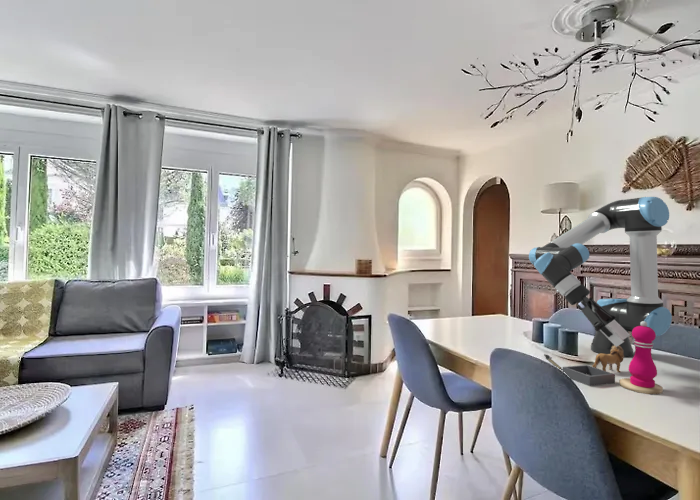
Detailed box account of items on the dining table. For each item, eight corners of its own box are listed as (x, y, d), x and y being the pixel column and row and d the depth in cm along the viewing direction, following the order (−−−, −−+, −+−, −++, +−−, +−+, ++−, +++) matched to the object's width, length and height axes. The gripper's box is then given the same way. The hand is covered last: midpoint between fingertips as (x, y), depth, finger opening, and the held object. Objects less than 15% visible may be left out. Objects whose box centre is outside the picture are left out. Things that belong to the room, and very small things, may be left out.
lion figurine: (612, 367, 146) (612, 343, 146) (627, 371, 141) (628, 346, 141) (587, 372, 139) (588, 346, 139) (603, 376, 134) (603, 350, 134)
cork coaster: (636, 380, 131) (636, 377, 131) (671, 392, 120) (671, 388, 120) (611, 383, 127) (611, 379, 127) (645, 395, 117) (645, 391, 117)
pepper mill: (624, 383, 124) (625, 320, 124) (633, 378, 128) (634, 318, 128) (651, 390, 118) (653, 324, 118) (660, 385, 122) (662, 321, 122)
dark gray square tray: (586, 373, 138) (586, 364, 138) (614, 383, 128) (615, 374, 128) (562, 375, 135) (562, 366, 135) (589, 386, 124) (589, 376, 124)
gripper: (572, 294, 148) (619, 341, 138) (554, 300, 129) (606, 354, 119) (589, 281, 144) (638, 328, 134) (572, 285, 126) (628, 340, 116)
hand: (623, 340), depth 127 cm, fingers open, 13 cm apart
